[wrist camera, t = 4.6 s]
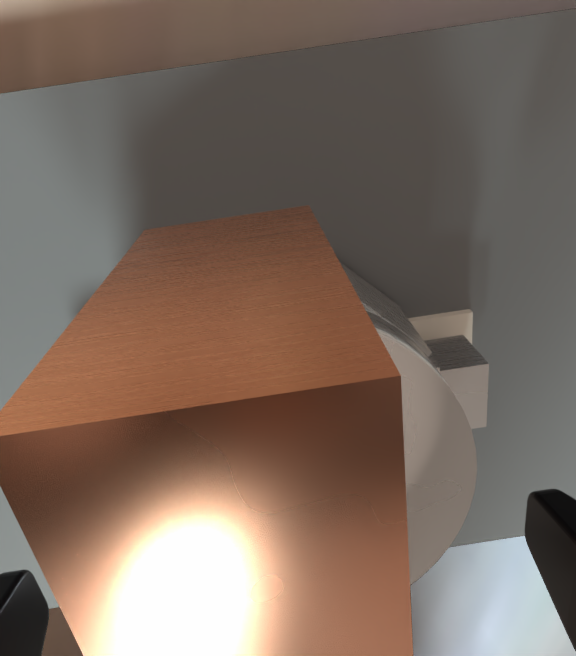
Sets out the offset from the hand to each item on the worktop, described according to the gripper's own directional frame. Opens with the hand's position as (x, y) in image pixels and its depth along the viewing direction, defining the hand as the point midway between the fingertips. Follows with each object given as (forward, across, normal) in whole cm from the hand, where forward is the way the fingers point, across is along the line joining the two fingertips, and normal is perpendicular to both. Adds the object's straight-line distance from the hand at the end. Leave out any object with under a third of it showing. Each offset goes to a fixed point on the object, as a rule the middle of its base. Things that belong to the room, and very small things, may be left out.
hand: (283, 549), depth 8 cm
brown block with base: (+5, 0, 0) cm, 5 cm away
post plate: (+7, 0, 0) cm, 7 cm away
